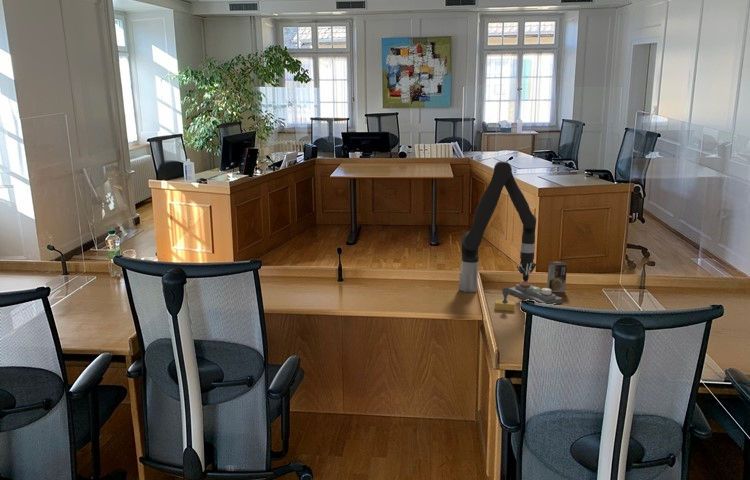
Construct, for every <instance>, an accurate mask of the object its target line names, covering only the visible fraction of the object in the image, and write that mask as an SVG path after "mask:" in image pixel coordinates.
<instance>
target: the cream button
mask: <svg viewBox="0 0 750 480" xmlns="http://www.w3.org/2000/svg"><path fill="white" fill-rule="evenodd" d="M541 289H542V291H541V294H542V295H545V296H549V295H551V293H552V292H551V289H549V288H547V287H543V288H541Z"/></svg>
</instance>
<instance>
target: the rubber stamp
mask: <svg viewBox="0 0 750 480" xmlns="http://www.w3.org/2000/svg"><path fill="white" fill-rule="evenodd" d="M509 288H510V287H508V286H504V287H503V288H502V292H501V293H502V295H503V299H495V302H494V310H496V311H504V310H505V312H516V311H515V307H516V301H514V300H507V298H508V296H509V294H510V293H509Z"/></svg>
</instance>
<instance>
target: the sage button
mask: <svg viewBox="0 0 750 480" xmlns="http://www.w3.org/2000/svg"><path fill="white" fill-rule="evenodd" d="M540 289H541V288H540V287H538V286H534V287H531V291H534V292H538V291H540Z"/></svg>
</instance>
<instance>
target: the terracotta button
mask: <svg viewBox="0 0 750 480" xmlns="http://www.w3.org/2000/svg"><path fill="white" fill-rule="evenodd" d="M530 283H531V281H530V280H529V279H528V281H524V280H523V279H521V280H520V283H519V284H520V286H523V287H529V286H530V285H531V284H530Z"/></svg>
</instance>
